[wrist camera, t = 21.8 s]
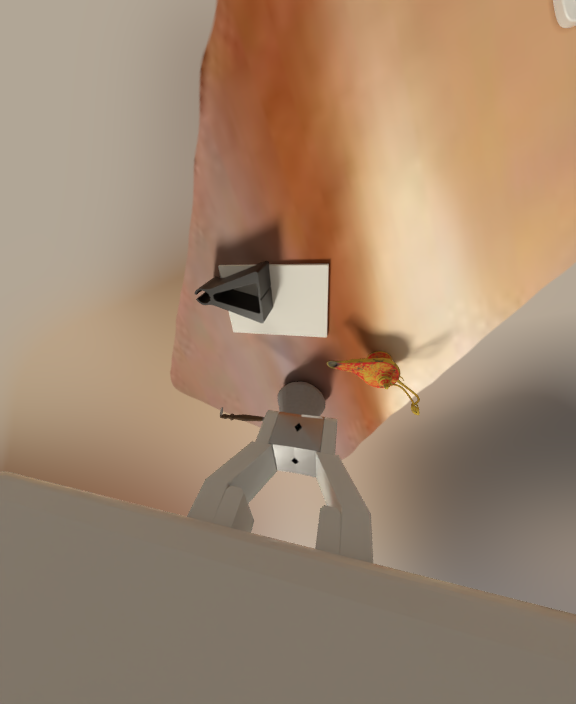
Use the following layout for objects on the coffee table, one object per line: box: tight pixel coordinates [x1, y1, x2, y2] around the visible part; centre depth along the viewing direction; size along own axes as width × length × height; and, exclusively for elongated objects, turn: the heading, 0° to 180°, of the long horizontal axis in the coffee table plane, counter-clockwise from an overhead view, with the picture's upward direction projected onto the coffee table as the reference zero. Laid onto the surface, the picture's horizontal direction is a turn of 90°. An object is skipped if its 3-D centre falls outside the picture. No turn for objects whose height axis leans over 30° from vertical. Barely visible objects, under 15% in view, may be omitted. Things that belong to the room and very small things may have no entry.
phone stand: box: [195, 261, 273, 323], centre depth 43 cm, size 9×6×12 cm
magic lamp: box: [327, 351, 420, 415], centre depth 45 cm, size 7×18×11 cm, turn 73°
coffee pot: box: [220, 382, 325, 421], centre depth 53 cm, size 21×12×15 cm, turn 69°
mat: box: [218, 264, 329, 337], centre depth 46 cm, size 20×14×1 cm
